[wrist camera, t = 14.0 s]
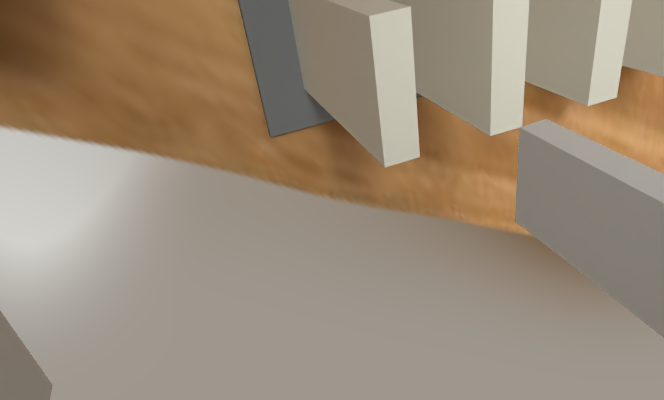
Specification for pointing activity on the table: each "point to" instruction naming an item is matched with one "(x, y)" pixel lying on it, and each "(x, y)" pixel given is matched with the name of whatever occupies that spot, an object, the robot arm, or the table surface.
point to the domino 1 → (362, 70)
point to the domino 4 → (645, 37)
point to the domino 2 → (472, 58)
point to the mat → (279, 67)
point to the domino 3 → (577, 47)
